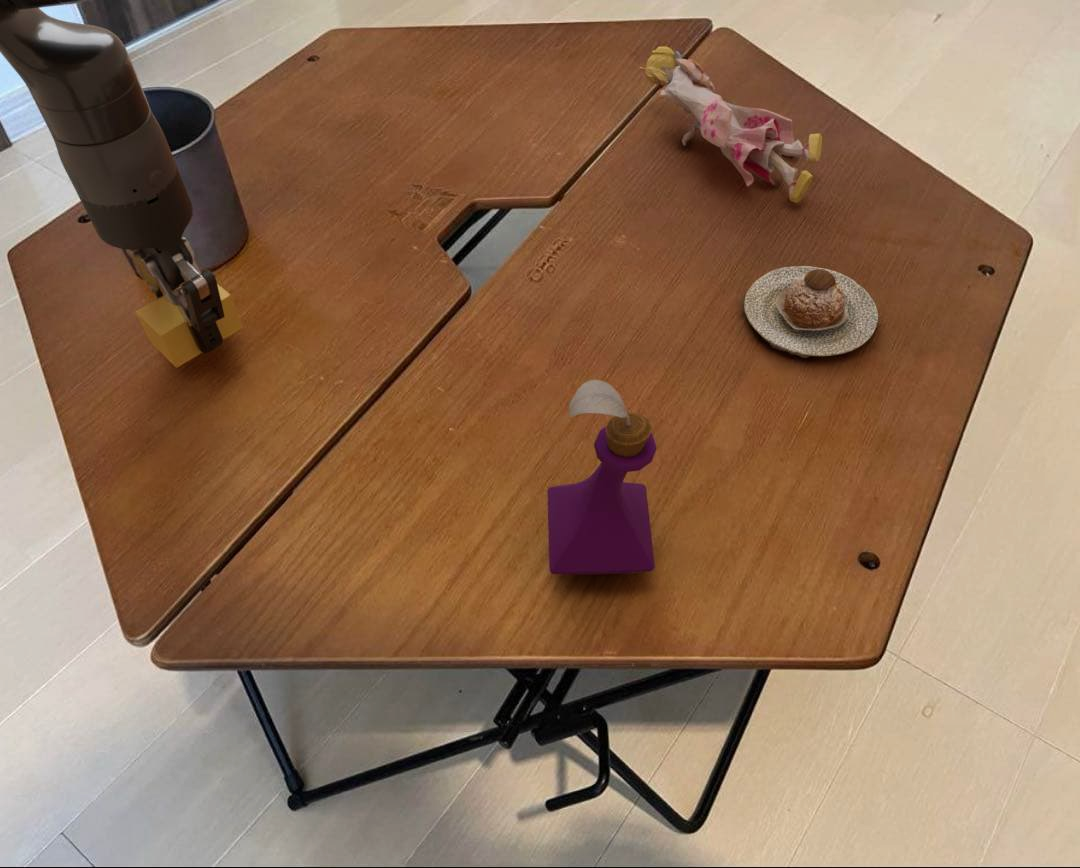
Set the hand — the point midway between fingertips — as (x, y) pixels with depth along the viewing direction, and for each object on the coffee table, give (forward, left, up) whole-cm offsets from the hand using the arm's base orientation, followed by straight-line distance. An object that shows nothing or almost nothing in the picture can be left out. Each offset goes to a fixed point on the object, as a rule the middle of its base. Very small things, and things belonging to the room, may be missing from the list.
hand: (196, 333), depth 82 cm
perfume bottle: (+9, -41, -2) cm, 42 cm away
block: (0, 0, 0) cm, 0 cm away
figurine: (+55, -16, -2) cm, 58 cm away
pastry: (+41, -38, -2) cm, 56 cm away
